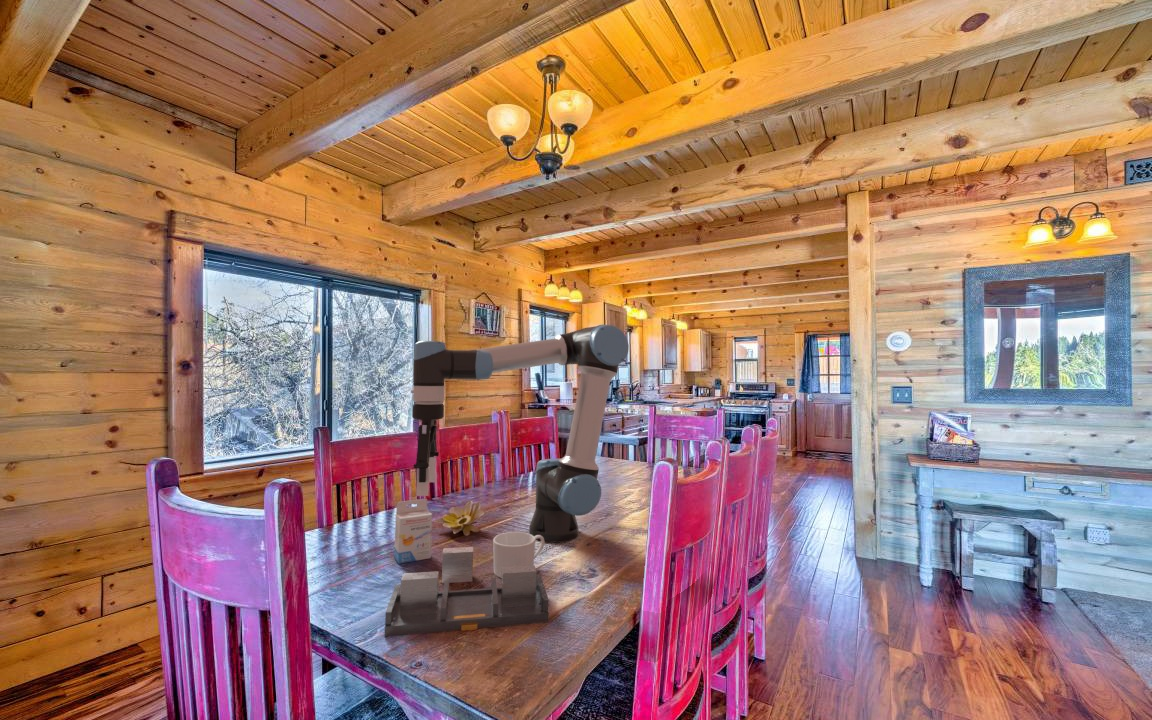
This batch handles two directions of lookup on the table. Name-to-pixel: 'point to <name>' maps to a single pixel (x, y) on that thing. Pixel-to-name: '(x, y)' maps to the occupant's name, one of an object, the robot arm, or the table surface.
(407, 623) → the rack
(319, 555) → the table surface
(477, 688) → the table surface
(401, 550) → the ink box
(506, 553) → the mug
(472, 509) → the decorative flower
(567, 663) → the table surface
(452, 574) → the panel
